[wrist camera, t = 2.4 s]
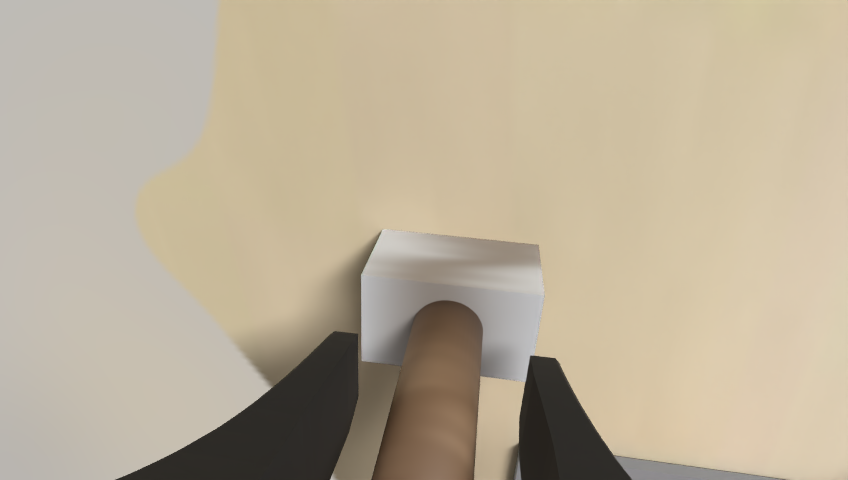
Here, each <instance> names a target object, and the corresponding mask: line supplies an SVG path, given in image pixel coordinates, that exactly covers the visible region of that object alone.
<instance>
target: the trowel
mask: <svg viewBox="0 0 848 480" xmlns="http://www.w3.org/2000/svg"><path fill="white" fill-rule="evenodd" d="M544 297H545V294H544V286H543V277H542V269H541V261H540V252H539V245H534V244H525V243H515V242H505V241H496V240H486V239H476V238H466V237H457V236H447V235H437V234H428V233H418V232H408V231H399V230H389V229H383V230H382V232H381V234H380V236H379V239H378V241H377V243H376V245H375V247H374V249H373V251H372V253H371V255H370V257H369V259H368V262H367V264H366V266H365V268H364V270H363V272H362V274H361V346H362V361H366V362H374V363H382V364H390V365H397V366H402V367H401V370H400V374H399V378H398V382H397V386H396V389H395V393H394V397H393V401H392V404H391V408H390V412H389V416H388V420H387V423H386V427H385V431H384V435H383V438H382V442H381V446H380V450H379V454H378V457H377V461H376V465H375V469H374V472H373V476H372V480H474V466H475V450H476V435H477V419H478V403H479V387H480V376H483V377H491V378H498V379H506V380H514V381H522V382H526V377H527V371H528V365H529V359H530V355H532V356H534V353H535V348H536V342H537V336H538V331H539V325H540V319H541V314H542V308H543V302H544Z"/></svg>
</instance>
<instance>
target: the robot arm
mask: <svg viewBox="0 0 848 480" xmlns="http://www.w3.org/2000/svg"><path fill="white" fill-rule="evenodd" d="M357 399H358V334H353V333H345V332H337V331H334V332H333V333H332V334H330V335H329V336H328V337H327V338H326V339H325V340H324V341H323V342H322V343H321V344H320V345H319V346H318V347H317V348H316V349H315V350H314V351H313V352H312V353H311V354H310V355H309V356H308V357H307V358H306V359H304V360H303V361H302V362H301V363H300V364H299V365H298V366H297V367H296V368H295V369H293V370H292V371H291V372H290V373H289V374H288V375H287V376H286V377H285V378H283V379H282V380H281V381H280V382H279V383H278V384H276V385H275V386H274V387H273V388H271V389H270V390H269V391H268V392H267V393H265V394H264V395H263V396H262V397H260V398H259V399H258V400H257V401H255V402H254V403H253V404H252V405H250V406H249V407H247V408H246V409H245V410H243V411H242V412H241V413H239V414H238V415H236V416H235V417H233V418H232V419H230V420H229V421H227V422H226V423H224V424H223V425H222V426H220V427H218V428H217V429H215V430H213V431H212V432H210V433H208V434H207V435H205V436H203V437H201V438H200V439H198V440H196V441H194V442H193V443H191V444H189V445H187V446H186V447H184V448H182V449H180V450H178V451H177V452H175V453H173V454H171V455H169V456H167V457H165V458H163V459H161V460H159V461H157V462H155V463H152V464H150V465H148V466H146V467H144V468H142V469H140V470H137V471H135V472H133V473H131V474H128V475H126V476H123V477H121V478H119V479H116V480H330V478H331V476H332V473H333V471H334V468H335V466H336V463H337V461H338V458H339V456H340V453H341V451H342V448H343V446H344V443H345V441H346V438H347V435H348V433H349V429H350V426H351V422H352V419H353V415H354V411H355V407H356V403H357ZM519 462H520V472H521V480H632V479H631V477H630V476H629V475H628V474H627V472H626V471H625V470H624V469H623V467H622V466H621V465H620V463H619V462H618V461H617V459H616V458H615V457H614V455H613V454H612V452H611V451H610V450H609V448H608V447H607V445H606V444H605V442H604V441H603V440H602V438H601V437H600V435H599V433H598V432H597V430H596V429H595V427H594V426H593V424H592V422H591V421H590V419H589V418H588V416H587V414H586V413H585V411H584V409H583V408H582V406H581V404H580V403H579V401H578V399H577V397H576V395H575V394H574V392H573V390H572V388H571V386H570V384H569V382H568V380H567V378H566V376H565V374H564V372H563V370H562V368H561V366H560V364H559V362H558V361H557V360H556V359H555V358H548V357H540V356H532V355H530V359H529V365H528V371H527V377H526V383H525V388H524V394H523V400H522V406H521V412H520V417H519Z"/></svg>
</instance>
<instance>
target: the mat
mask: <svg viewBox="0 0 848 480" xmlns="http://www.w3.org/2000/svg"><path fill="white" fill-rule="evenodd" d="M614 457H615V458H616V459H617V461H618V462H619V463H620V465H621V466H622V467H623V469H624V470H625V471H626V472H627V474H628V475H629V476H630V477H631V479H632V480H784V479H777V478H770V477H762V476H755V475H748V474H741V473H734V472H727V471H719V470H712V469H705V468H698V467H691V466H683V465H676V464H669V463H662V462H655V461H648V460H640V459H633V458H626V457H619V456H614ZM513 480H521V472H520V462H519V451H518V457H517V463H516V468H515V474H514V479H513Z"/></svg>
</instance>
